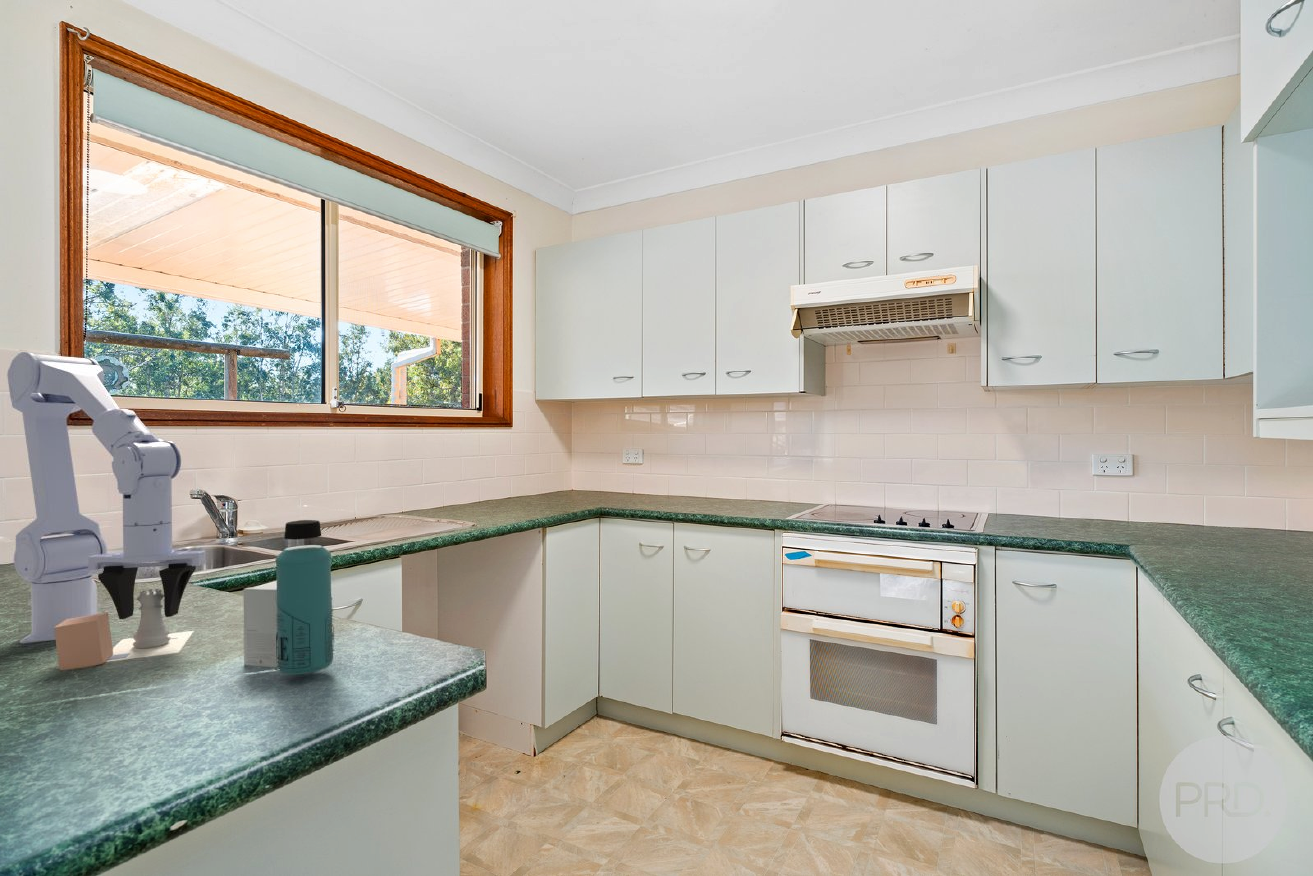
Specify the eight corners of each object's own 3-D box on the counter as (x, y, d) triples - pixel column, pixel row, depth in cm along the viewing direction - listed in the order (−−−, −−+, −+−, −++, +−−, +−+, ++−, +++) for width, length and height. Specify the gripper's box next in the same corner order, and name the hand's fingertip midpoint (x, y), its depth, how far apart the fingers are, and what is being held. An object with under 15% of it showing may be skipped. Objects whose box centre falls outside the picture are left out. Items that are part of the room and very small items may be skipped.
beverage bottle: (346, 671, 86) (344, 517, 86) (303, 690, 80) (301, 524, 80) (307, 666, 88) (305, 516, 88) (262, 684, 82) (261, 522, 82)
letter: (122, 641, 100) (122, 638, 100) (193, 632, 104) (193, 630, 104) (97, 665, 90) (97, 662, 90) (178, 654, 94) (178, 652, 94)
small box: (278, 669, 87) (277, 590, 87) (242, 667, 88) (241, 588, 88) (321, 650, 95) (320, 577, 95) (287, 648, 96) (286, 576, 96)
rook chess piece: (155, 638, 100) (155, 586, 100) (177, 641, 99) (177, 588, 99) (124, 648, 96) (123, 593, 96) (147, 650, 95) (146, 595, 94)
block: (72, 662, 91) (66, 619, 91) (113, 654, 93) (107, 612, 93) (59, 672, 87) (53, 627, 87) (102, 663, 89) (97, 620, 89)
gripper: (215, 518, 102) (216, 606, 102) (110, 522, 100) (111, 611, 100) (191, 524, 95) (192, 619, 95) (77, 528, 93) (78, 624, 93)
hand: (149, 616), depth 97 cm, fingers open, 5 cm apart
